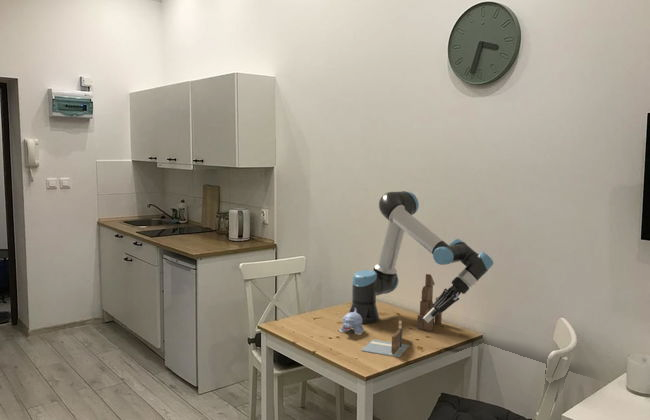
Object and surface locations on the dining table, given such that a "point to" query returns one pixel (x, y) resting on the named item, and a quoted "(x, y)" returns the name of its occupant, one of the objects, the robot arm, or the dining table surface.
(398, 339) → the fence fixed
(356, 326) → the hippopotamus toy
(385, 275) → the robot arm
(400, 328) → the fence panel
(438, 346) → the dining table surface
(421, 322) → the wooden toy
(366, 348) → the card
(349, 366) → the dining table surface
